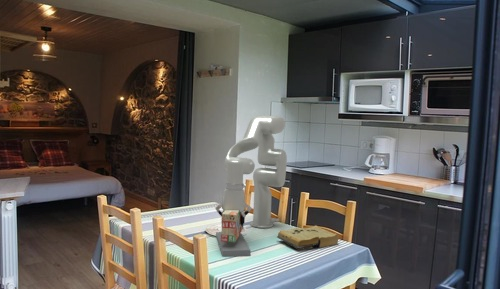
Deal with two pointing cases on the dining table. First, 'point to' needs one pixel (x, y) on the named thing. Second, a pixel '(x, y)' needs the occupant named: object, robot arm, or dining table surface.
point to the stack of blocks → (231, 225)
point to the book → (308, 238)
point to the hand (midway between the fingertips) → (232, 224)
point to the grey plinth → (233, 246)
